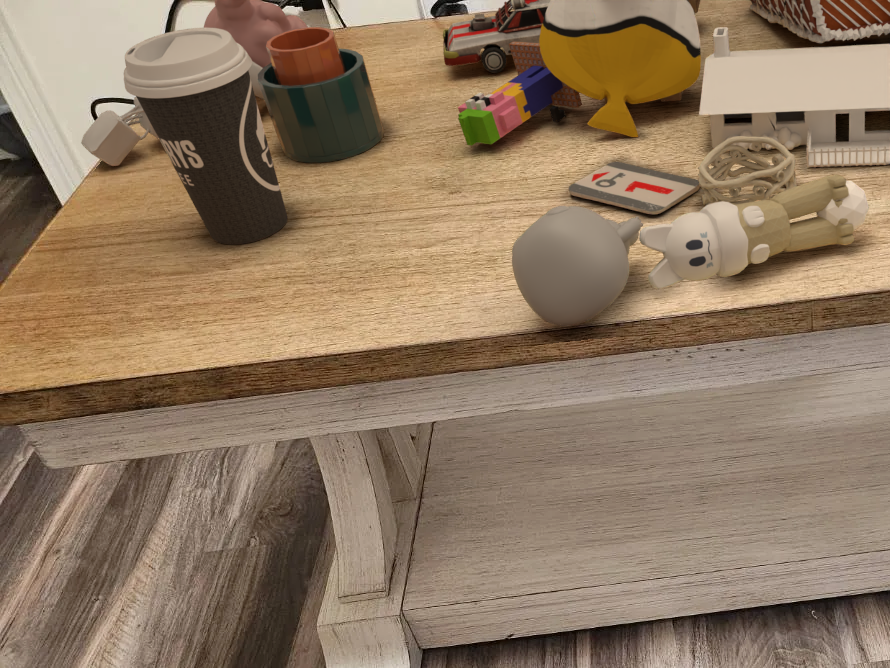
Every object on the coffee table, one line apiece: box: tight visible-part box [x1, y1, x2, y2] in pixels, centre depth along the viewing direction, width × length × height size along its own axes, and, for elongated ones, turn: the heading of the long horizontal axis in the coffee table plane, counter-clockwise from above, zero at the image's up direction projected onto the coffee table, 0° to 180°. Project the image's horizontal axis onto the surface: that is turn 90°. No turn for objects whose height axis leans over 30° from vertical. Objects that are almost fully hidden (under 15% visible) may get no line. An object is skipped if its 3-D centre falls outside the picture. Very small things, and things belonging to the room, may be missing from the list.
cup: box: [266, 26, 346, 86], centre depth 104 cm, size 6×6×9 cm
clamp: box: [80, 61, 265, 167], centre depth 109 cm, size 20×4×7 cm, turn 129°
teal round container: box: [257, 48, 385, 164], centre depth 105 cm, size 10×10×7 cm
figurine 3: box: [511, 205, 644, 327], centre depth 80 cm, size 8×8×12 cm
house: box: [698, 26, 890, 169], centre depth 99 cm, size 25×24×7 cm
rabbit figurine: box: [638, 174, 870, 290], centre depth 84 cm, size 5×10×18 cm
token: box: [568, 161, 701, 215], centre depth 95 cm, size 7×1×10 cm
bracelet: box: [697, 136, 797, 206], centre depth 91 cm, size 4×8×8 cm
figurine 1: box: [203, 0, 309, 68], centre depth 115 cm, size 9×11×12 cm
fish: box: [539, 0, 702, 138], centre depth 103 cm, size 20×12×15 cm
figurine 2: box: [457, 42, 583, 146], centre depth 104 cm, size 7×6×12 cm
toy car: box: [442, 0, 550, 74], centre depth 117 cm, size 8×18×8 cm, turn 101°
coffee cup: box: [123, 27, 289, 245], centre depth 90 cm, size 10×10×15 cm
